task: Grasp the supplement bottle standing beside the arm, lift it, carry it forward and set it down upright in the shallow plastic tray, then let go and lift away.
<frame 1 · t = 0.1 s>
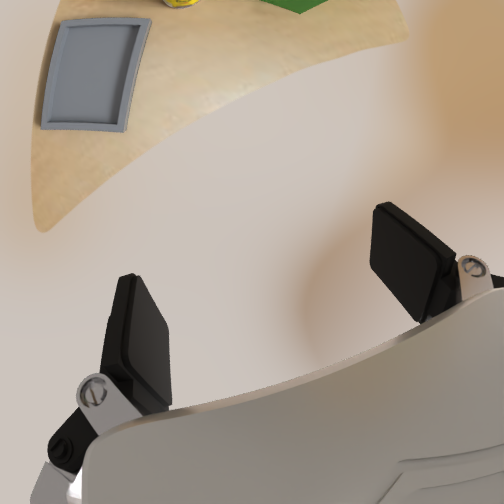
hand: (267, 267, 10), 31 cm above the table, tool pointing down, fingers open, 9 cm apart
tray: (93, 73, 27), on the table
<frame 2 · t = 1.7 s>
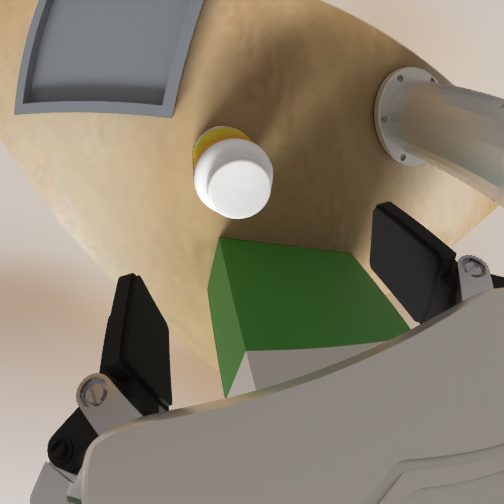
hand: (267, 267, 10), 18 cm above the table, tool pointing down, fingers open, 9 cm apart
tray: (103, 44, 16), on the table
hardback book: (282, 270, 35), on the table
supplement bottle: (221, 152, 25), on the table
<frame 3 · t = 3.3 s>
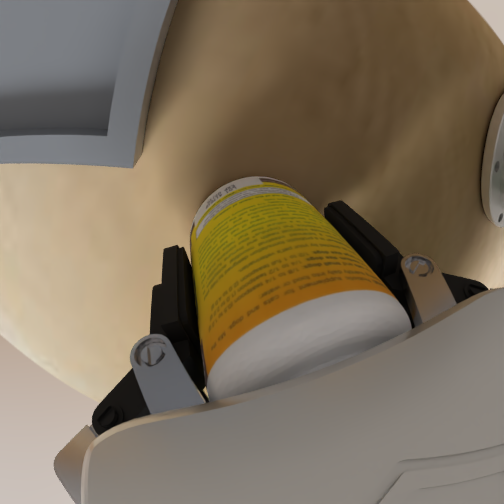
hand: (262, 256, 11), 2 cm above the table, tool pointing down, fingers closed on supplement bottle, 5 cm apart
tray: (7, 14, 4), on the table
supplement bottle: (249, 229, 13), on the table, touching gripper
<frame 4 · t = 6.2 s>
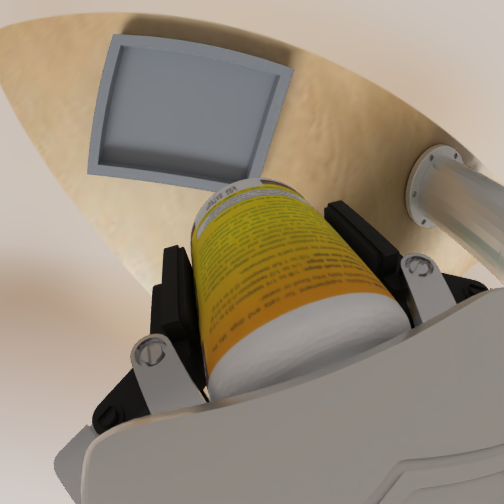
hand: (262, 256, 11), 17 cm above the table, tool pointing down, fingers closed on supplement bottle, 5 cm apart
tray: (184, 112, 22), on the table
supplement bottle: (250, 230, 13), point 15 cm above the table, touching gripper
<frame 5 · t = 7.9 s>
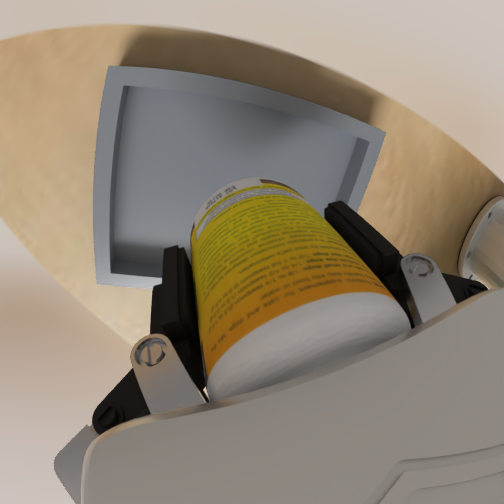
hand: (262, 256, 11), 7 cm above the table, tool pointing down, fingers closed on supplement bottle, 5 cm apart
tray: (231, 191, 17), on the table
supplement bottle: (249, 230, 13), point 5 cm above the table, touching gripper
when the fingers open (4 cm above the table, at t = 8.9 s): supplement bottle drops 1 cm, resting on tray.
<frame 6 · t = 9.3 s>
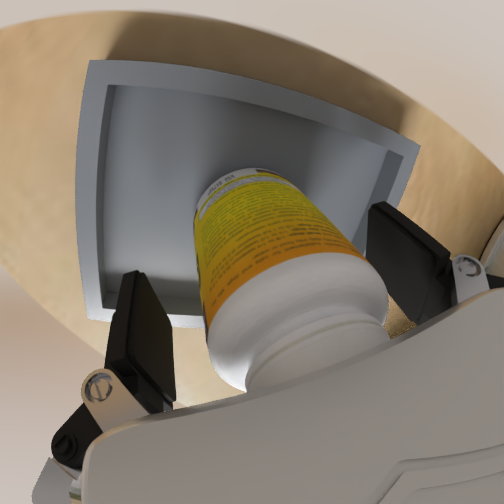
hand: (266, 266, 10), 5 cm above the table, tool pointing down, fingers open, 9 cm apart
tray: (241, 212, 14), on the table
supplement bottle: (247, 216, 14), resting on tray
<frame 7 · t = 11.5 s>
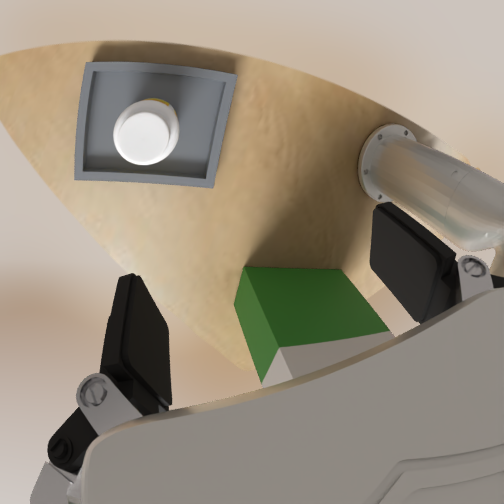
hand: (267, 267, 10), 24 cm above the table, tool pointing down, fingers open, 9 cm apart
tray: (150, 121, 26), on the table
hardback book: (289, 286, 46), on the table
supplement bottle: (151, 122, 26), resting on tray
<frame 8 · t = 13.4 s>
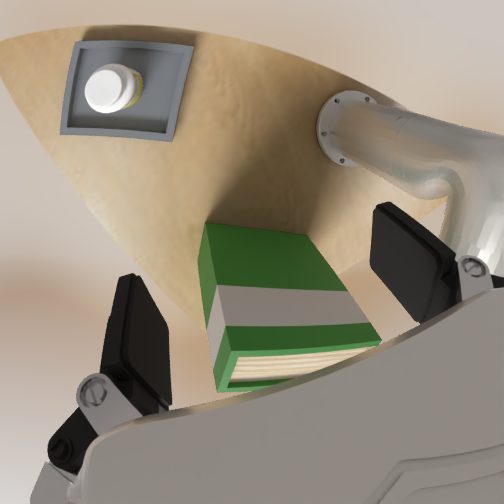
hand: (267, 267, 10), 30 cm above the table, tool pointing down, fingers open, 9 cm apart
tray: (123, 88, 29), on the table
hardback book: (253, 247, 47), on the table
supplement bottle: (124, 88, 28), resting on tray
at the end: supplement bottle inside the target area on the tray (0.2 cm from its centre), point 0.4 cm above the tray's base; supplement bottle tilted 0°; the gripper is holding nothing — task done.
